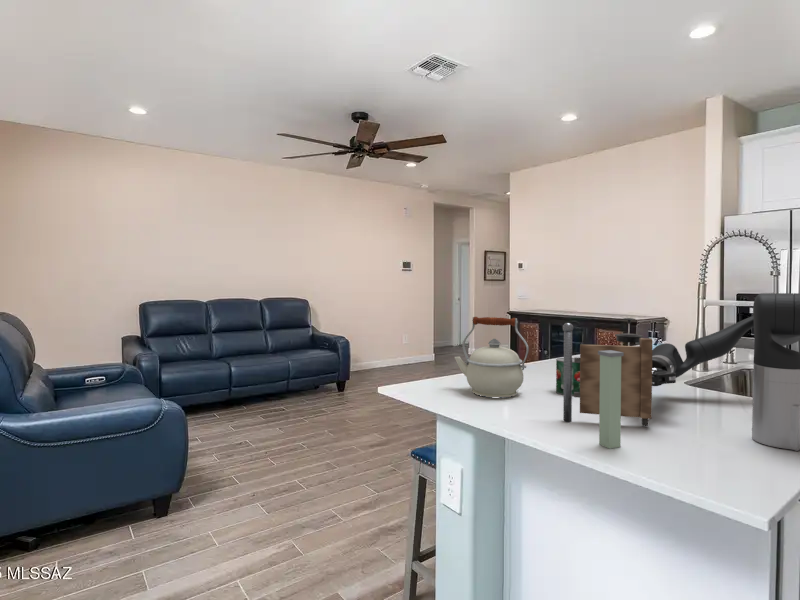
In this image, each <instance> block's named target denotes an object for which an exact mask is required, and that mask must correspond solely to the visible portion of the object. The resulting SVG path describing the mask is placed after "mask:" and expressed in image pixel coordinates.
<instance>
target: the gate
mask: <svg viewBox="0 0 800 600" xmlns="http://www.w3.org/2000/svg"><path fill="white" fill-rule="evenodd" d="M605 350H613V351H619V352H624V356H621V417H627V418H638V419H639V418H640V419H641V426H642V427H649V420H652V416H653V415H652V414H653V413H652V409H653V404H652V400H653V386H652V350H653V339H652V338H650V337H649V338H647V337H642V338H640V342H639V345H629V346H628V345H614V344H613V345H608V344H580V345H579V352H580V353H579V357H578V356H577V357H573V358H574V362H575V363H580V392H574V396H573V397H574V398H577V399H579V413H580V414H589V415H599V411H600V355H598V351H605Z"/></svg>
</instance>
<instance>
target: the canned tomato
mask: <svg viewBox="0 0 800 600" xmlns="http://www.w3.org/2000/svg"><path fill="white" fill-rule="evenodd" d="M555 360H556V361H555V362H556V365H555V366H556V367H555V371H556V374H555V377H556V379H555V381H556V383H555V384H556V385H555V392H556V394H558V395H561V396H564V357H558V358H556V359H555ZM574 392H580V363H575V362H574V357H572V397H574Z"/></svg>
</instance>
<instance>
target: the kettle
mask: <svg viewBox="0 0 800 600" xmlns="http://www.w3.org/2000/svg"><path fill="white" fill-rule="evenodd" d="M518 323H519V322H518V318H516V317H512V318H507V317H495V316H494V317H493V316H486V317H485V316H484V317H478V316H473V317H472V327H471V330H470V331H469V332H468V334H467V335H465V338H463V340H462V341H463V342H462V351H463V354H464V357H465V359H466V360H464V361H463V359H462V358H461V356H454V360H455V361H456V363H457V366H458V367H459V368H458V369H460V371H461V372H462V374H463V375H464V376H465V377H466V381H467V383H468V385H469V387H470V388H472V393H473V394H474V393H475V394H477V395H476V396H478V395H481V396H486V397H509V398H512V397H511V396H513V397H515V396H517V394H518V392H517V391H518V390H519V389H520V388H521V386H522V384H523V382H524V372H523V371H524V370H525V369H527V365H525V362H526V361H527V358H528V355H529V348H530V347H529V345H528V342H527V341H526V339H525V338H524V337H523V336H522V334H521V333H520V332H519V330H518ZM476 325H485V326H501V327H502V326H512V327H514V330H515V333H516V334H517V335H518V337H519V338H520V339H521V340H522V341H523V343H524V345H525V347H526V351H525V356H524V359H523V360H522V359H521V358H520V356H519V354H518V353H517V352H516V351H514V350H512V348H507V347H504V346H500V345H501V342H500V340H498V339H497V338H492V339H490V341H489V342H487V344H488V345H489V346H483V347H480V348H477V349H475V350H474V351H472V352H471V354H470V356H468V354H467V353H468V352H467V351H466V345H465V344H466V341H467V339H468V338H469V336H470V335H471V334H472V333H473V332H474V330H475V329H476V328H475V326H476ZM475 394H474V395H475ZM481 396H480V397H481ZM486 397H485V398H486Z"/></svg>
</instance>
